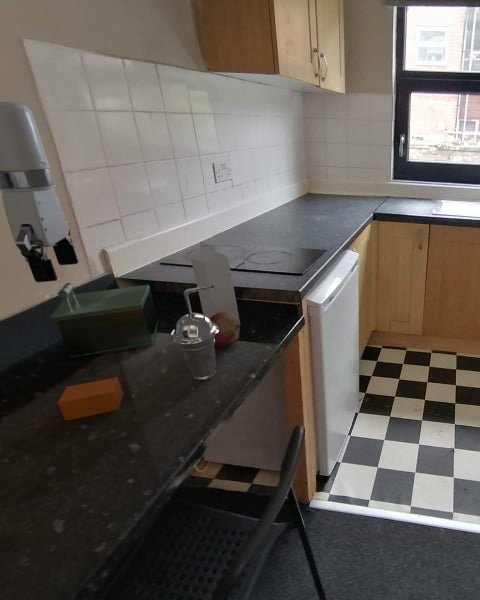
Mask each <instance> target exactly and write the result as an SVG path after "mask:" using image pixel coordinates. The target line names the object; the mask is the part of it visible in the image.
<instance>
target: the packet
mask: <svg viewBox="0 0 480 600" xmlns="http://www.w3.org/2000/svg"><path fill="white" fill-rule="evenodd" d="M124 394H125V393H124V391H123V388H122V385H121V382H120V378H119V377H118V376H115V377H111V378H107V379H105V378H104V379H101V380H94V381H90V382H85V383H80V384H74V385H69V386H66V387H65V389H64V391H63V392H62V395H61V396H60V398H59V400H58V401H57V404H58V407H59V409H60V411H61V415H62V416H63V419H64V421H65V422H67V421H72V420H78V419H81V418H86V417H91V416H95V415H96V416H97V415H99V414H105V413H109V412H115V411H118V410H120V406H121V403H122V400H123V397H124Z"/></svg>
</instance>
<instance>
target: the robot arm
mask: <svg viewBox="0 0 480 600" xmlns="http://www.w3.org/2000/svg"><path fill="white" fill-rule="evenodd" d="M55 188H57V185H56V182H55V179H54V176H53V173H52V169H51V166H50V163H49V160H48V157H47V154H46V151H45V148H44V145H43V141H42V139H41V135H40V133H39V129H38V126H37V123H36V120H35V117H34V114H33V112H32V110H31V109H30V108H29V107H28V106H27V105H25V104H23V103H20V102H13V101H11V102H10V101H0V192H1V197H2V203H3V208H4V213H5V216H6V219H7V220H6V221H7V223H8V226H9V229H10V232H11V235H12V238H13V241H14V243H15V246H16V247H17V248H18V250H19V251H20V255H21V256H22V257H24V260H25V262H26V263H28V266H29V269H30V271H31V274H32V276H33V279H34V281H35V282H36V283H46V282H55V281H57V280H58V276H57V272H56V270H55V267H54V264H53V261H52V259H51V258H48V257H49V253H48V252H49V248H51V247H52V249H53V251H54V255H55V258H56V260H57V263H58V265H59V266H70V265H78V263H79V260H78V256H77V253H76V250H75V246H74V244H73V243H74V242H73V238H72V237H71V234H72V233H71V230H70V228H69V222H68V219H67V218H66V215H65V213H64V210H63V207H62V205H61V202H60V200H59V197H58V195H57V193H56V191H55ZM39 251H40V252H39Z"/></svg>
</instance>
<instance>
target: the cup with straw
mask: <svg viewBox="0 0 480 600" xmlns="http://www.w3.org/2000/svg"><path fill="white" fill-rule="evenodd" d="M211 288H214V287H213V285H207V286H202V287H197V286H196V287H193V288H187V289H185V290H184V291H183V297H184V298H183V299H184V302H185V306H186V311H187V314H184V315H183V316H182V317H180V318H179V319H178V320H177V322H176V323H175V326H174V329H173V330H172V332H171V333H170V336H171V338H170V339H171V341H172V342H173V343H175V344H177V346H178V347H179V350H180V351H181V352H182V355H183V357H184V360H185V362H186V364H187V367H188V369H189V372H190V374H191V375H192V379H193V380H194V381H196V382H202V381H203V382H204V381H208V380H210V379H213V378H214V377H215V376H216V375H217V373H218V370H217V358H216V357H217V356H216V346H215V335H216V334H217V332H218V330H219V329H218V327H217V324H216V323H214V322H212V321H211V320H210V319H209V318H208V317H207V316H205V315H204V314H203V313H201V312H200V313H199V312H193V311H192V306H191V303H190V299H189V294H191V293H195V292H198V291H201V290H206V289H211Z"/></svg>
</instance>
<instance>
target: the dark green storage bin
mask: <svg viewBox="0 0 480 600" xmlns="http://www.w3.org/2000/svg"><path fill="white" fill-rule="evenodd" d="M55 322H56V325H57V327H58V330H59V332H60V336H61V338H62V340H63V343H64V345H65V348H66V350H67V353H68V355H69V358H70V361H76V360H81V359H82V360H83V359H88V358H93V357H98V356H104V355H105V356H106V355H111V354H115V353H117V354H118V353H121V352H128V351H133V350H139V348H140V349H144V347H145V348H150V347H149V346H151V347H153V346H154V345H155V340H156V337H157V333H158V329H159V326H160V320H159V317H158V312H157V310H156V306H155V303H154V299H153V294H152V291H151V287H150V288H149V291H148V293H147V296H146V298H145V301H144V304H143V306H142V308H136V309H129V310H122V311H115V312H108V313H101V314H94V315H87V316H80V317H73V318H66V319H59V320H55Z"/></svg>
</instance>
